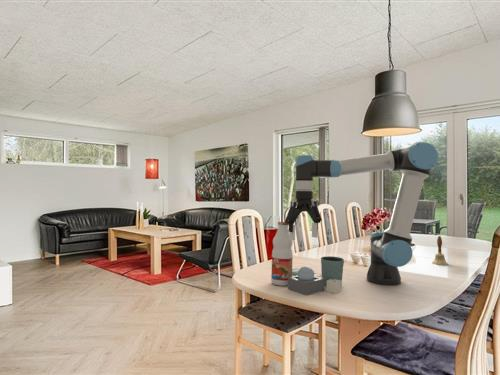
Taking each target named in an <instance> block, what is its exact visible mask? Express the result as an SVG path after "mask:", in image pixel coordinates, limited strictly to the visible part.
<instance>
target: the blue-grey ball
mask: <svg viewBox="0 0 500 375" xmlns="http://www.w3.org/2000/svg"><path fill="white" fill-rule="evenodd" d="M299 269H300V270H298V279H299V280H302V281H306V282H307V281H311V280H314V273H315V271H314V270H313V268H311V266H307V265H305V266H302V267H300V268H299Z"/></svg>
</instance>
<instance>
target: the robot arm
mask: <svg viewBox="0 0 500 375" xmlns="http://www.w3.org/2000/svg"><path fill="white" fill-rule="evenodd" d="M438 160H439V153H438V149H437V148H436V147H435V146H434V145H433V144H431V143H429V142H426V141H417V142H415V143H413V144H409V145H406V146H403V147H400V148H397V149H394V150H393V149H392V150H388V151H387V152H386V153H382V154H381V153H380V154H373V155H367V156H359V157H352V158H351V157H350V158H345V159H338V160H336V159H335V160H334V159H330V160H329V159H328V160H325V159H323V160H322V159H321V160H320V159H317V160H316V159H314V155H310V154H307V155H298V156H296V159H295V190H296V191H295V199H296V201H290V207H289V209H288V211H287V215H286V218H285V220H284V222H285V223H287V224H289V225H288V230H289V234H290V239H291V240H293V241H295V240H296V223H295V222H296V221H297V219H298V218H299V216H300V215H301V213H303V212H307V214H308V215H309V217H310V219H311V220H312V222H311V238H314V239H315V238H316V239H317V238H318V230H319V224H320V223H321V222H322V221H323V219H322V216H321V214H320V210H319V208H318V202H317V201H316V200H313V199H314V197H313V194H314V193H313V189H314V178H319V179H326V178H339V177H342V176H349V175H356V174H365V173H373V172H380V171H387V170H388V171H390V172H395V171H399V172H400V173H401V175H402V177H401V180H400V185H399V187H398V188H399V189H398V191H397V196H396V200H395V203H394V206H393V211H392V213H391V219H390V222H389V225H388V228H387V229H385V230H384V231H380V232H379V231H375V232H374V231H373V232H371V234H370V238H369V240H370V263H369V267H368V270H367V273H366V280H367V281H368V282H369V283H370V282H371V283H372V284H378V285H385V286H386V285H387V286H395V285H399V284H401V282H402V277H401V274H400V271H399V268H401V267H404V266H406V265H407V264H408V263H410V261H411V260H412V258H413V249H412V247H411V246H412V242H413V241H412V240H413V237H412V235H411V230H412V227H413V226H412V225H413V222H414V218H415V215H416V211H417V207H418V203H419V199H420V195H421V192H422V189H423V185H424V180H426V179H427V178H429V177H430V174H431V170H432V168H434V166H436V165H437V163H438Z"/></svg>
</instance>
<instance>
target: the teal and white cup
mask: <svg viewBox="0 0 500 375" xmlns="http://www.w3.org/2000/svg"><path fill="white" fill-rule="evenodd" d="M320 265H321V275H322V278H323V279H324V287H326V288H327V280H329V279H336V280H341V286H342V283H343V281H342V280H343V273H344V265H345V259H344V258H343V257H339V256H327V255H326V256H322V257H321V258H320Z"/></svg>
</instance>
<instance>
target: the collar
mask: <svg viewBox="0 0 500 375" xmlns="http://www.w3.org/2000/svg"><path fill="white" fill-rule="evenodd" d="M287 290H290V291H293V292H296V293H297V294H301V295H304V296H308V295H312V294H315V293H320V292H324V291H325V286H324V279H323V278H320V277H316V276H314V280H311V281H307V282H306V281H302V280H299V279H298V275H297V276H292V277H288V285H287Z"/></svg>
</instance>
